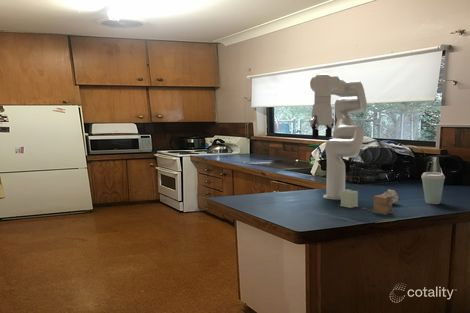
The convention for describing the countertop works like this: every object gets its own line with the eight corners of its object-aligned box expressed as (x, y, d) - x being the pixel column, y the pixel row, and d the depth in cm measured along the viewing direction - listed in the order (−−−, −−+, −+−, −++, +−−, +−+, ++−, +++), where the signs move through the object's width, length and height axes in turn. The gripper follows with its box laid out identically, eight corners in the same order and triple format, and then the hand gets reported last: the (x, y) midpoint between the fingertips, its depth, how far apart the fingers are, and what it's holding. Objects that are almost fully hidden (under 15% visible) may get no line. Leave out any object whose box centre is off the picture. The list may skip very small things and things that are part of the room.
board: (351, 203, 196) (351, 201, 196) (397, 212, 178) (397, 210, 177) (333, 208, 187) (333, 205, 187) (380, 217, 169) (380, 215, 169)
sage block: (347, 203, 193) (348, 189, 192) (357, 205, 189) (357, 191, 188) (340, 205, 189) (341, 191, 189) (350, 207, 185) (350, 192, 184)
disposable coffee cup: (445, 205, 190) (447, 174, 189) (421, 204, 194) (422, 174, 192) (442, 201, 200) (443, 172, 199) (418, 200, 204) (420, 171, 202)
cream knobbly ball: (386, 211, 195) (382, 193, 201) (404, 207, 191) (399, 188, 196) (380, 205, 189) (376, 186, 195) (398, 200, 185) (393, 181, 190)
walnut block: (380, 209, 179) (380, 194, 179) (391, 211, 175) (392, 196, 174) (373, 211, 176) (373, 195, 175) (384, 213, 172) (385, 197, 171)
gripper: (327, 101, 193) (327, 136, 195) (304, 101, 182) (303, 138, 184) (340, 101, 187) (339, 137, 189) (317, 100, 177) (316, 138, 178)
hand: (322, 137), depth 187 cm, fingers open, 9 cm apart
